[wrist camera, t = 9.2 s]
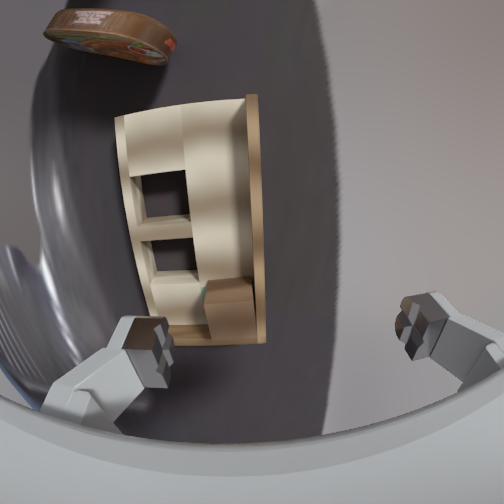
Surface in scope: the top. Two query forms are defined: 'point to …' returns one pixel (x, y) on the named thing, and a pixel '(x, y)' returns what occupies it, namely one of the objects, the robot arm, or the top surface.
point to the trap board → (197, 206)
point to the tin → (113, 34)
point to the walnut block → (230, 308)
